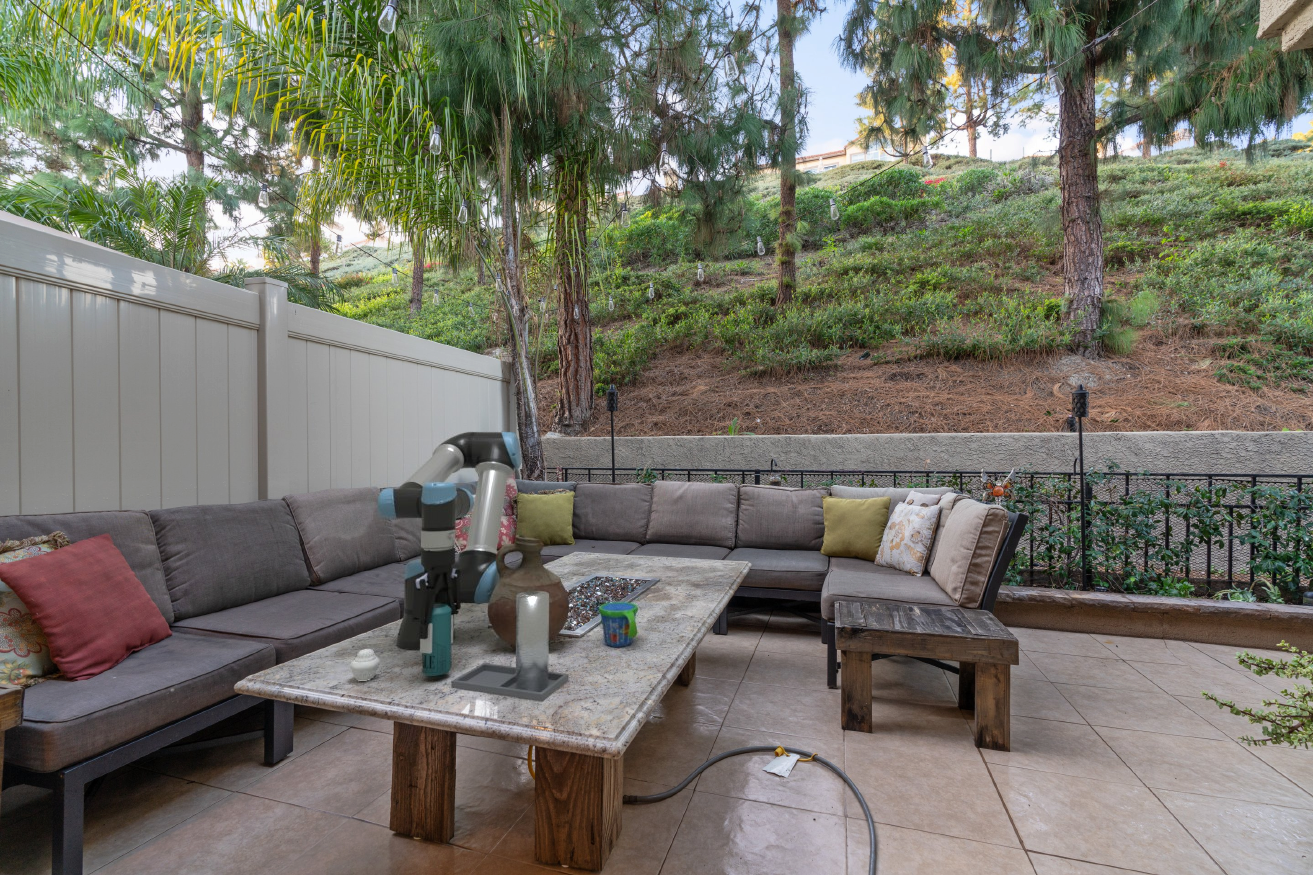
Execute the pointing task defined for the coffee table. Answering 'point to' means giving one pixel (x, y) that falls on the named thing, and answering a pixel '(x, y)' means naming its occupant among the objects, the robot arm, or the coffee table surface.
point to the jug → (525, 589)
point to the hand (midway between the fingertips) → (436, 647)
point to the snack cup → (618, 623)
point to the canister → (532, 640)
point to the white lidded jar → (365, 665)
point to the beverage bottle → (439, 639)
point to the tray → (504, 682)
